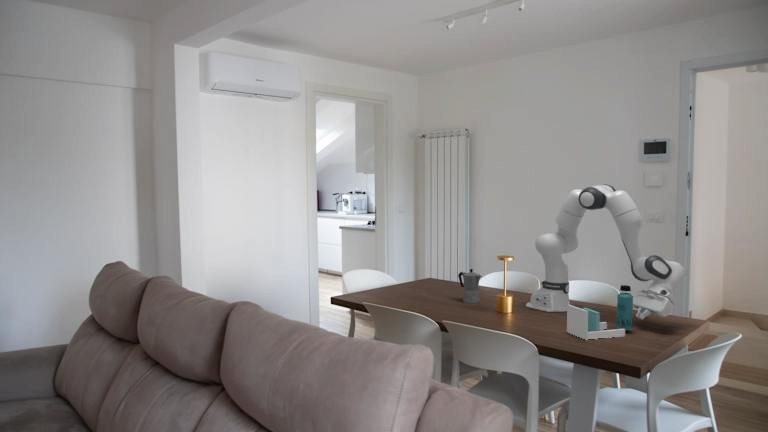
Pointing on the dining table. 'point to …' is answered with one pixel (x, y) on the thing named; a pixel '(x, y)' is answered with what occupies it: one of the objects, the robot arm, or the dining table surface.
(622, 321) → the beverage bottle
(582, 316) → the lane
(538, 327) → the dining table surface
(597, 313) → the pusher
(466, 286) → the coffeepot
